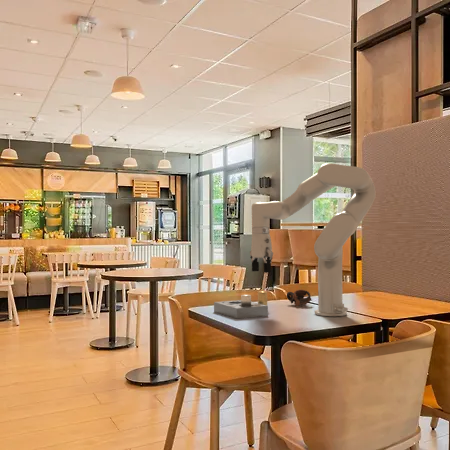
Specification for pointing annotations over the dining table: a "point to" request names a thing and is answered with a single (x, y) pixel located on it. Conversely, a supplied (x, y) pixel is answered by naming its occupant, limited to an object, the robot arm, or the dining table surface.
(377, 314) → the dining table surface
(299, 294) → the brown animal figurine
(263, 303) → the bushing
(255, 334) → the dining table surface
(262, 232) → the robot arm
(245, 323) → the dining table surface
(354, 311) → the dining table surface
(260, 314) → the jig
